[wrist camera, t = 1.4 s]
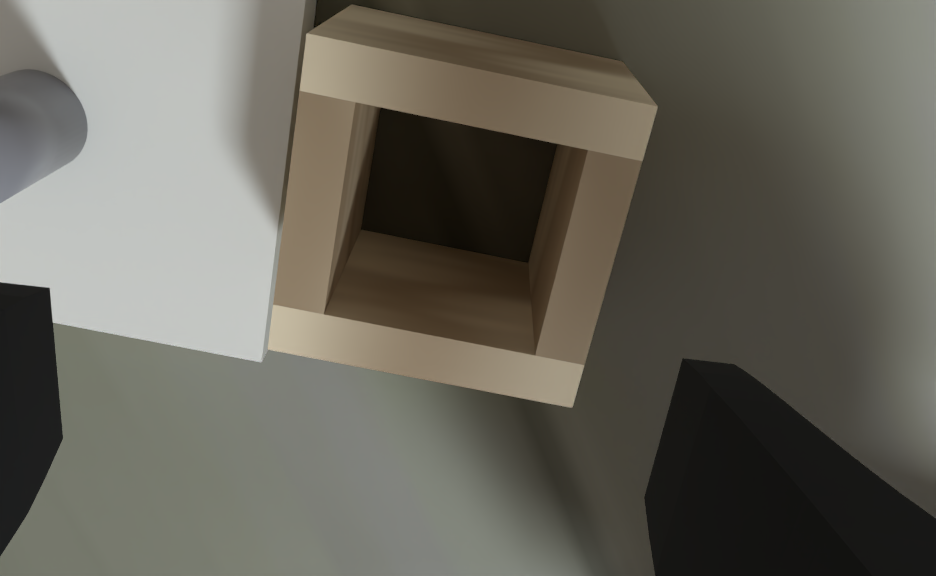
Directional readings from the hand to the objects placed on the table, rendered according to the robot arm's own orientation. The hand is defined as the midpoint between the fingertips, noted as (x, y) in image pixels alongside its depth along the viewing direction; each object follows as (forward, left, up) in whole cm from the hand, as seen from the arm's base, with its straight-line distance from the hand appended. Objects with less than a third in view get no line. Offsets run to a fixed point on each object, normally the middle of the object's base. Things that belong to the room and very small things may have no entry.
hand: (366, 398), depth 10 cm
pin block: (+8, 0, -10) cm, 13 cm away
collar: (-1, 0, -10) cm, 10 cm away
